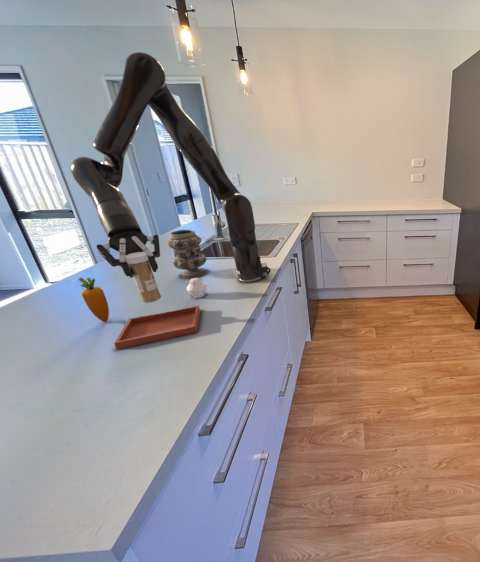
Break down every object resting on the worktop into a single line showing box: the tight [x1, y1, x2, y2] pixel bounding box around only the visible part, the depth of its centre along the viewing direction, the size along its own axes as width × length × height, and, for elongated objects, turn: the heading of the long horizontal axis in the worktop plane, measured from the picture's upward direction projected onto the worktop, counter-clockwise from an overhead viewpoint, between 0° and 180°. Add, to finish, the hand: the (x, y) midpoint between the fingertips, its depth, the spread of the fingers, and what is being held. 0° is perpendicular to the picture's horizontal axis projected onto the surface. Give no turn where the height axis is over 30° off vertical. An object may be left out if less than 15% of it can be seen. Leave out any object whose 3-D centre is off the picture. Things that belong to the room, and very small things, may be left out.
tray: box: [114, 305, 201, 350], centre depth 87 cm, size 19×14×2 cm
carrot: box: [77, 277, 110, 323], centre depth 89 cm, size 5×5×15 cm
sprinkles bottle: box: [125, 252, 162, 304], centre depth 81 cm, size 5×5×13 cm
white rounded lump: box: [186, 277, 208, 299], centre depth 105 cm, size 6×6×7 cm
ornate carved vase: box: [166, 229, 208, 279], centre depth 122 cm, size 12×12×18 cm
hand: (143, 273), depth 79 cm, fingers closed on sprinkles bottle, 4 cm apart
